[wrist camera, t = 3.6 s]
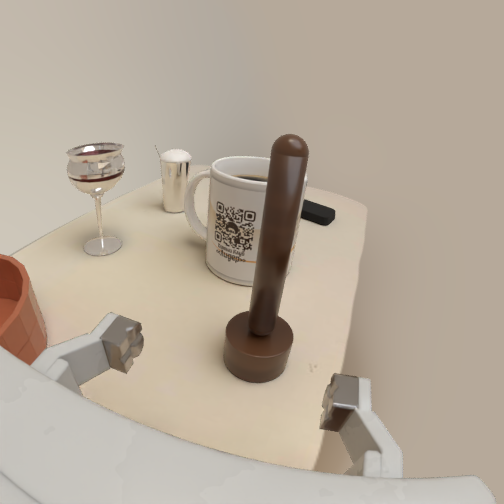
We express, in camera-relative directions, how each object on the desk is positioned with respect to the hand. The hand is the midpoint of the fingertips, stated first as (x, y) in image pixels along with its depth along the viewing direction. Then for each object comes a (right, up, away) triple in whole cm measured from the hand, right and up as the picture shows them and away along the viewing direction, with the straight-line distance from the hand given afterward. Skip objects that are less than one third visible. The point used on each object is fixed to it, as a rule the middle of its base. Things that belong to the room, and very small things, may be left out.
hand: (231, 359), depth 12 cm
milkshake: (-11, +11, +35) cm, 38 cm away
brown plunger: (+1, -4, +12) cm, 13 cm away
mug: (-1, +3, +25) cm, 26 cm away
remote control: (+7, +11, +41) cm, 43 cm away
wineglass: (-18, +5, +24) cm, 30 cm away
